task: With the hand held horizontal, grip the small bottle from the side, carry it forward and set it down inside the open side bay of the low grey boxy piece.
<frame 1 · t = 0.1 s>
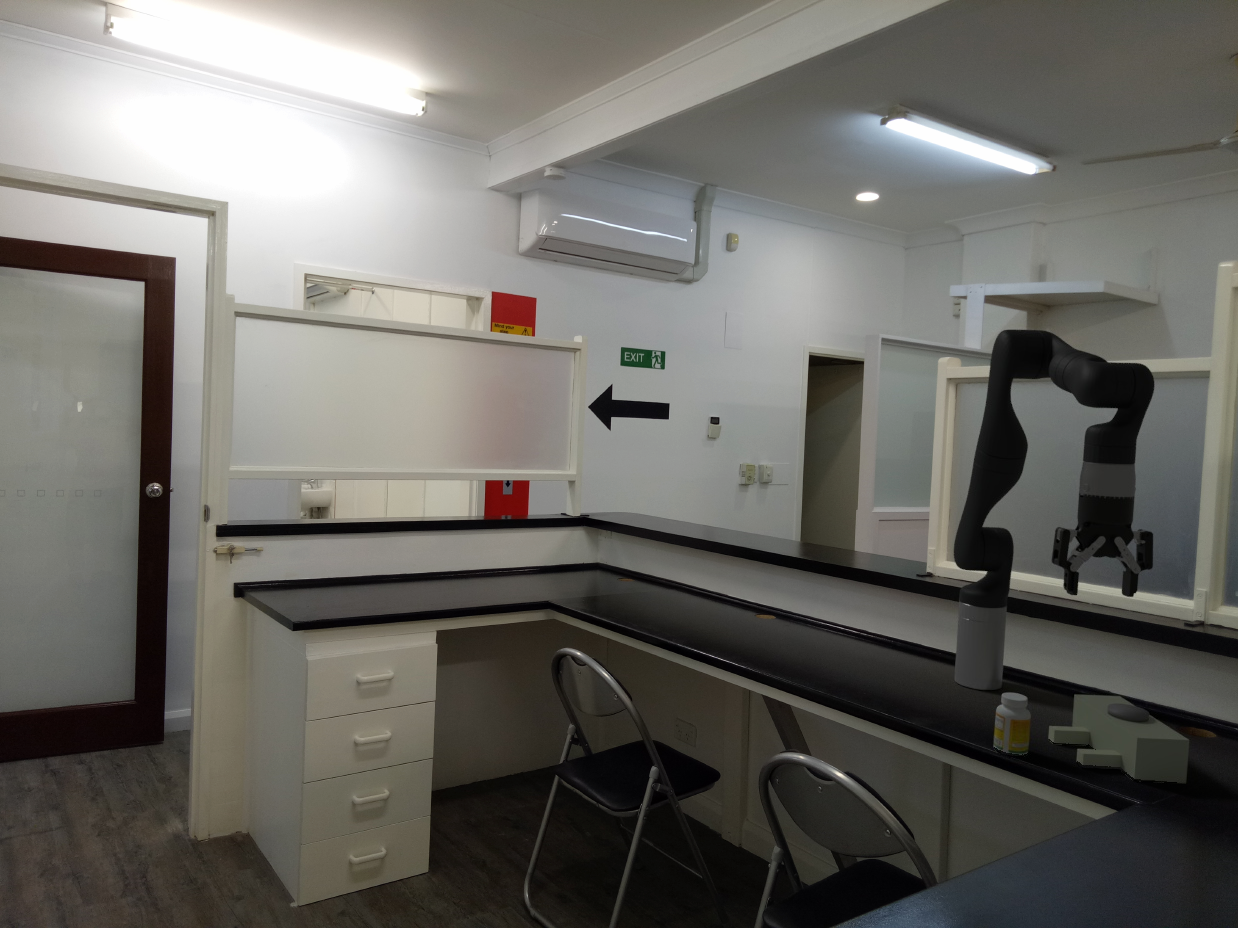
hand: (1099, 595, 134), 29 cm above the counter, tool pointing down, fingers open, 8 cm apart
grey boxy piece: (1106, 755, 145), on the counter
supplement bottle: (1010, 752, 146), on the counter
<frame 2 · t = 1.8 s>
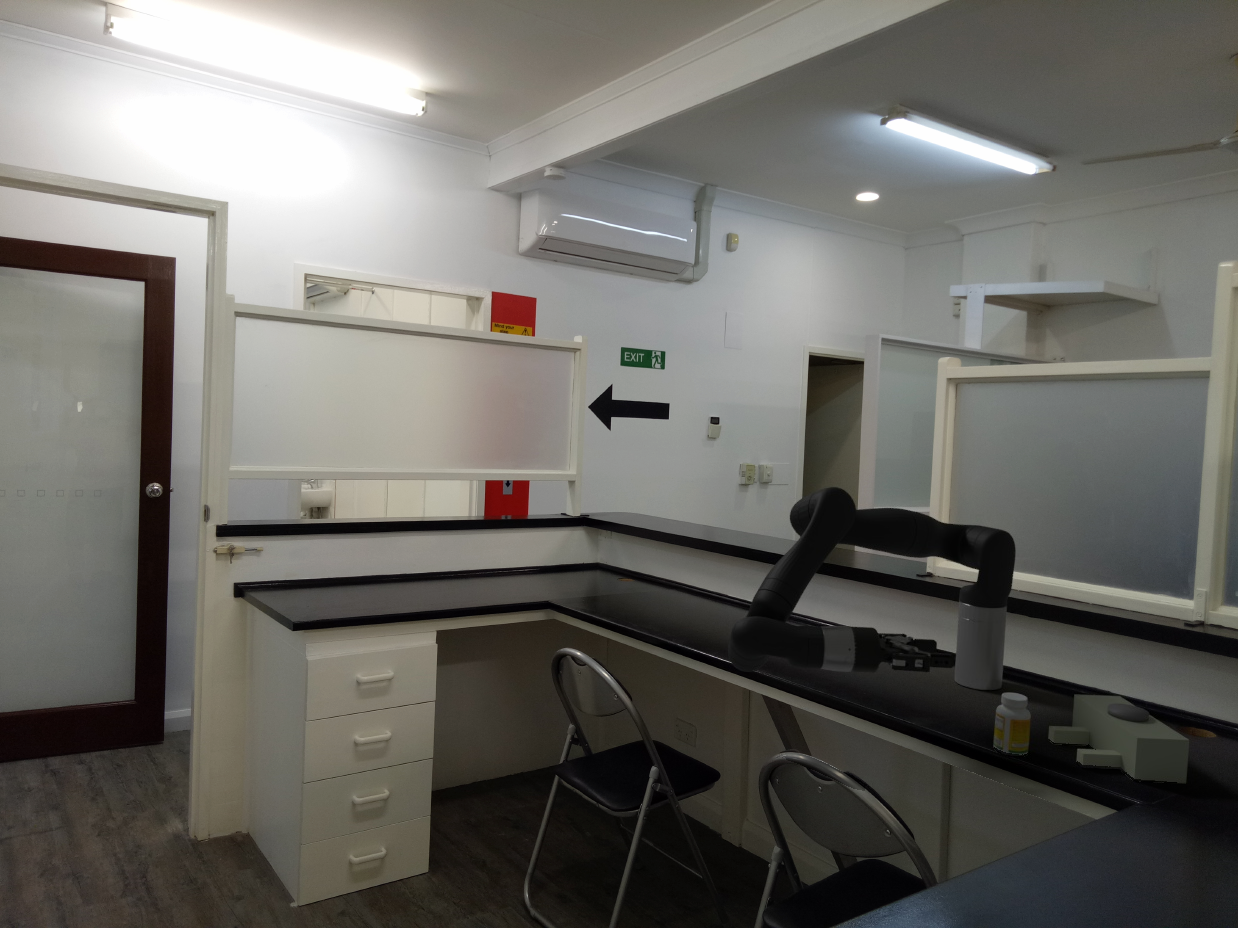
hand: (944, 653, 145), 16 cm above the counter, tool horizontal, fingers open, 8 cm apart
nothing on the counter moved.
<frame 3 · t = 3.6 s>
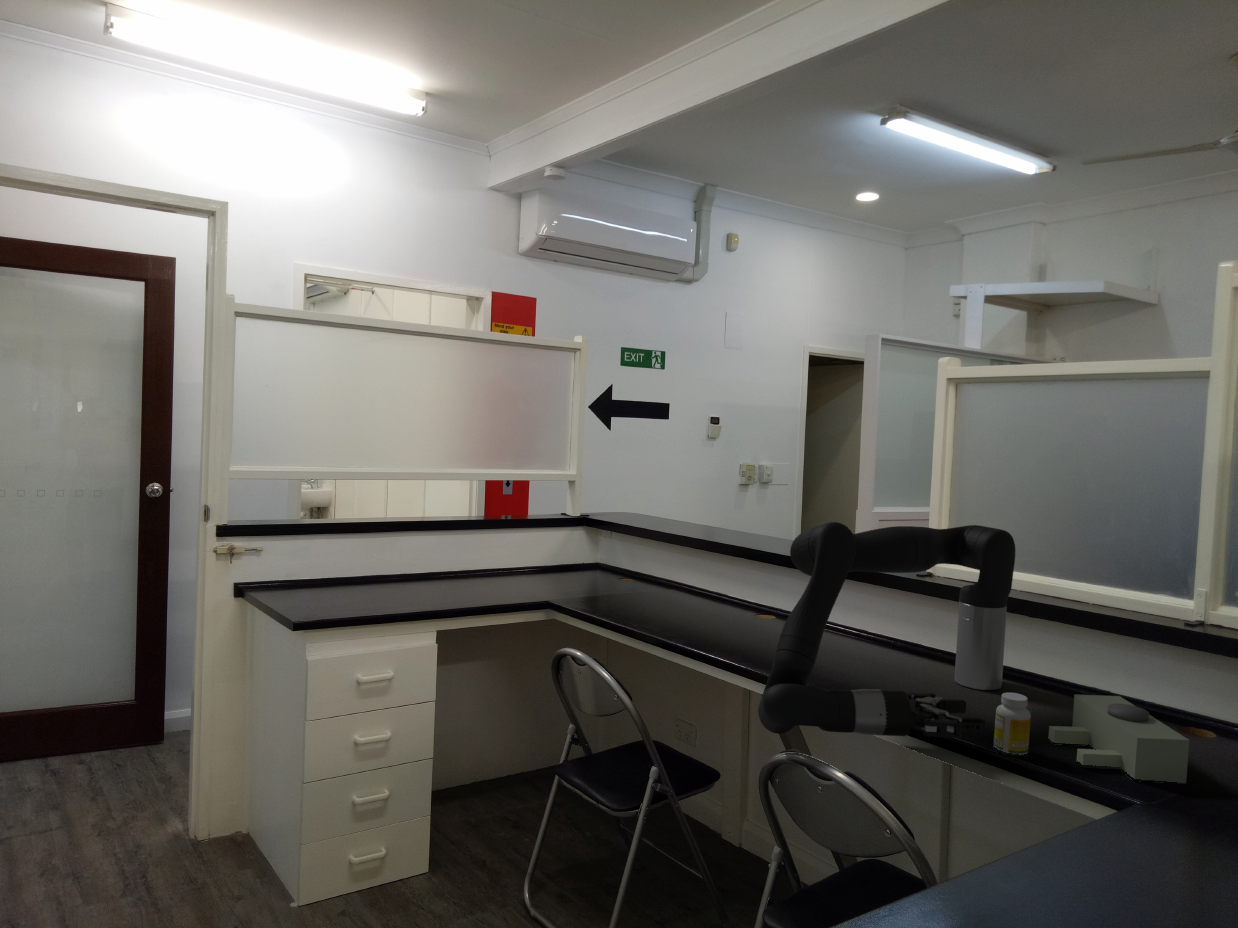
hand: (974, 715, 145), 6 cm above the counter, tool horizontal, fingers open, 8 cm apart
nothing on the counter moved.
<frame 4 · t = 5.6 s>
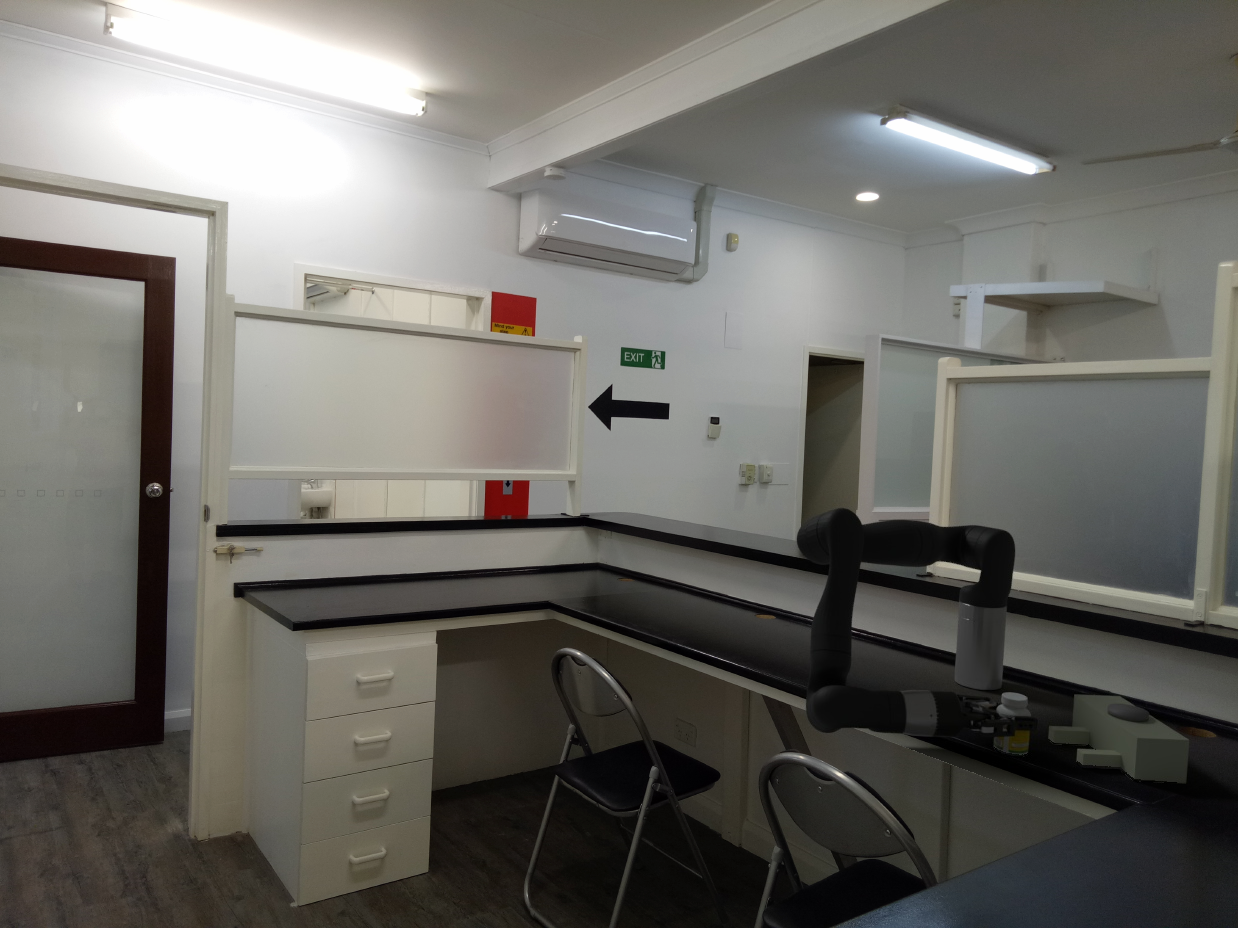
hand: (1028, 717, 145), 6 cm above the counter, tool horizontal, fingers closed on supplement bottle, 5 cm apart
supplement bottle: (1010, 752, 146), on the counter, touching gripper
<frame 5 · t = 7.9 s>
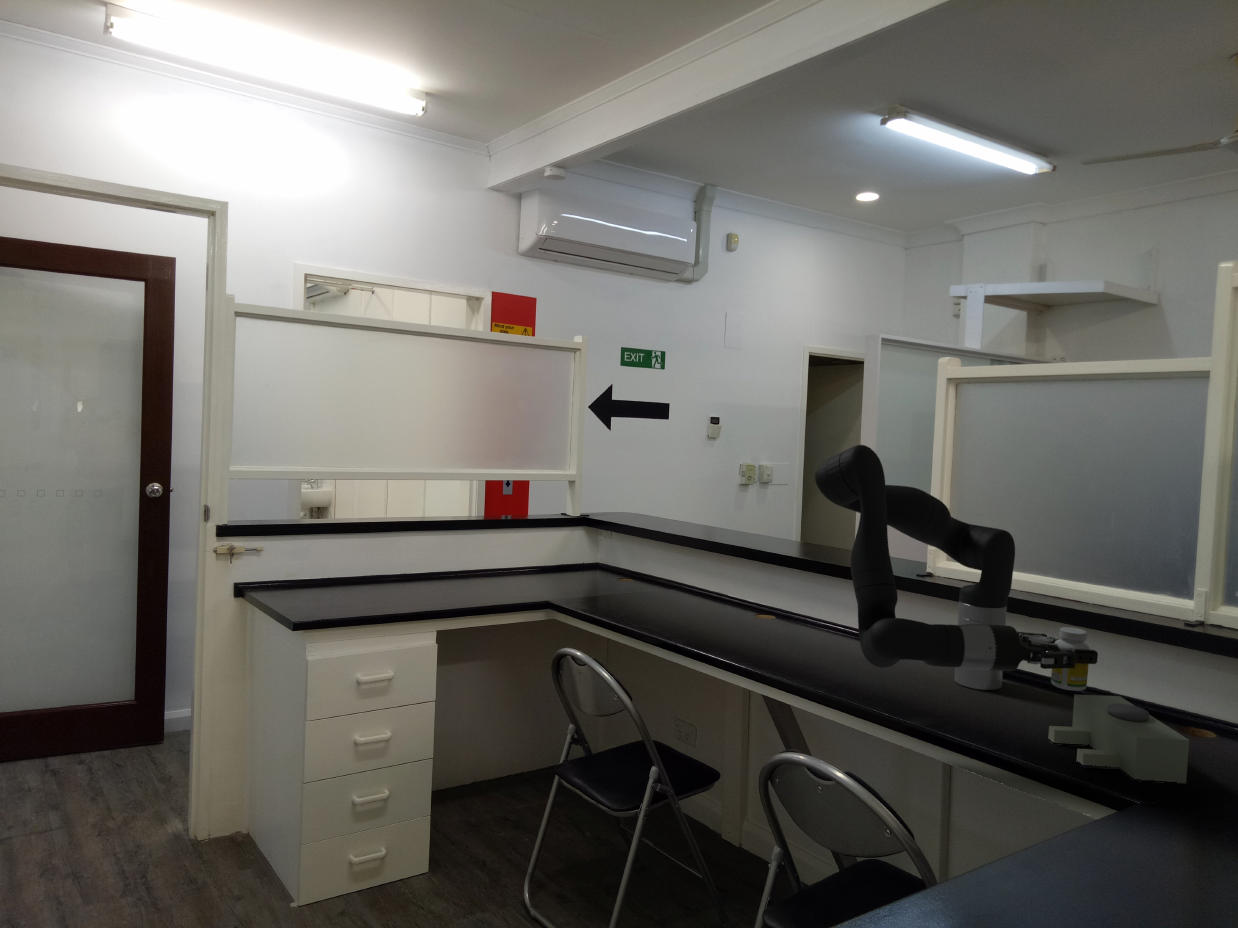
hand: (1086, 651, 144), 18 cm above the counter, tool horizontal, fingers closed on supplement bottle, 5 cm apart
supplement bottle: (1068, 687, 145), point 11 cm above the counter, touching gripper
when the fingers open (8 cm above the counter, at t = 10.5 s): supplement bottle drops 2 cm, on the counter.
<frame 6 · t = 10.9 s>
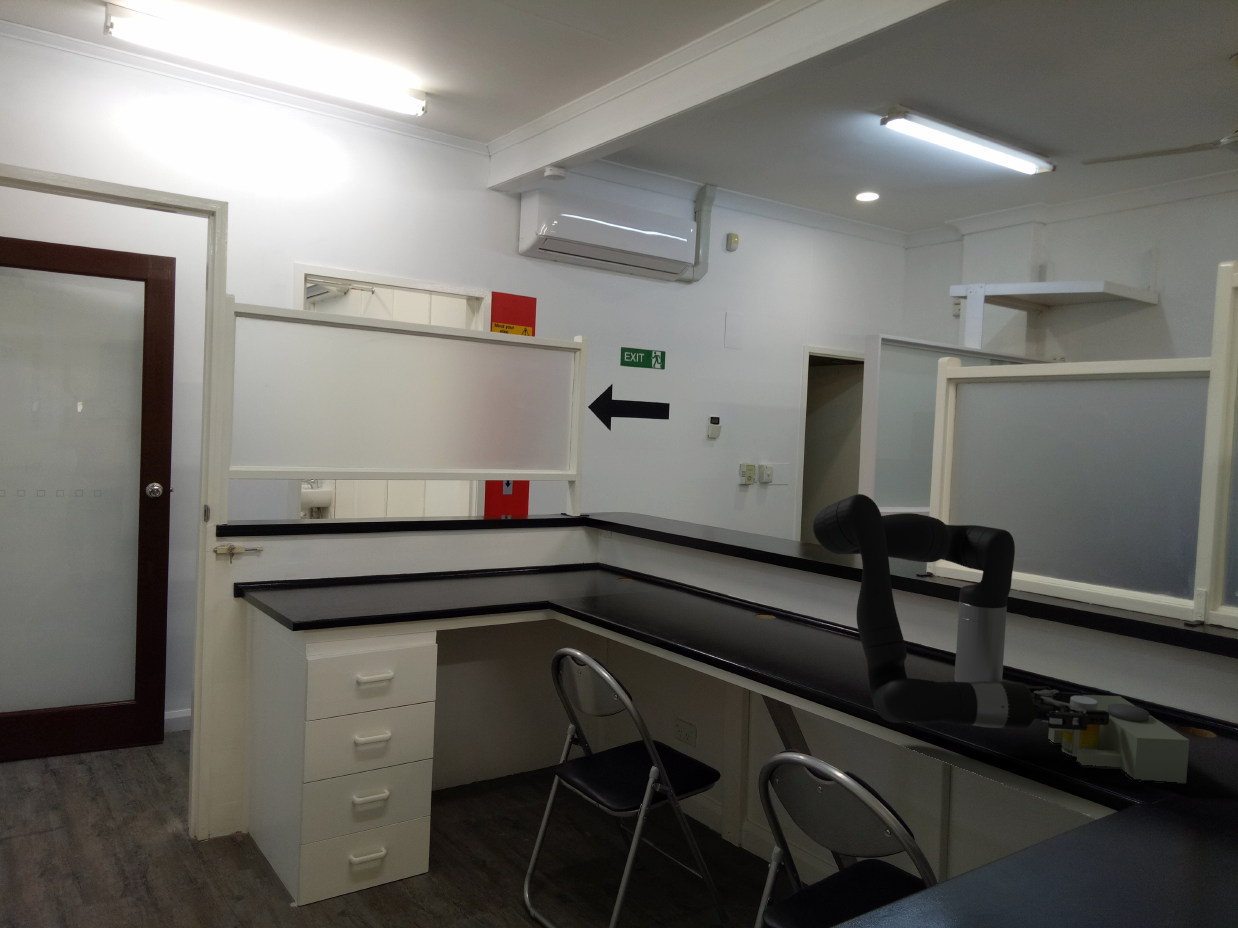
hand: (1094, 708, 145), 8 cm above the counter, tool horizontal, fingers open, 8 cm apart
supplement bottle: (1079, 755, 145), on the counter
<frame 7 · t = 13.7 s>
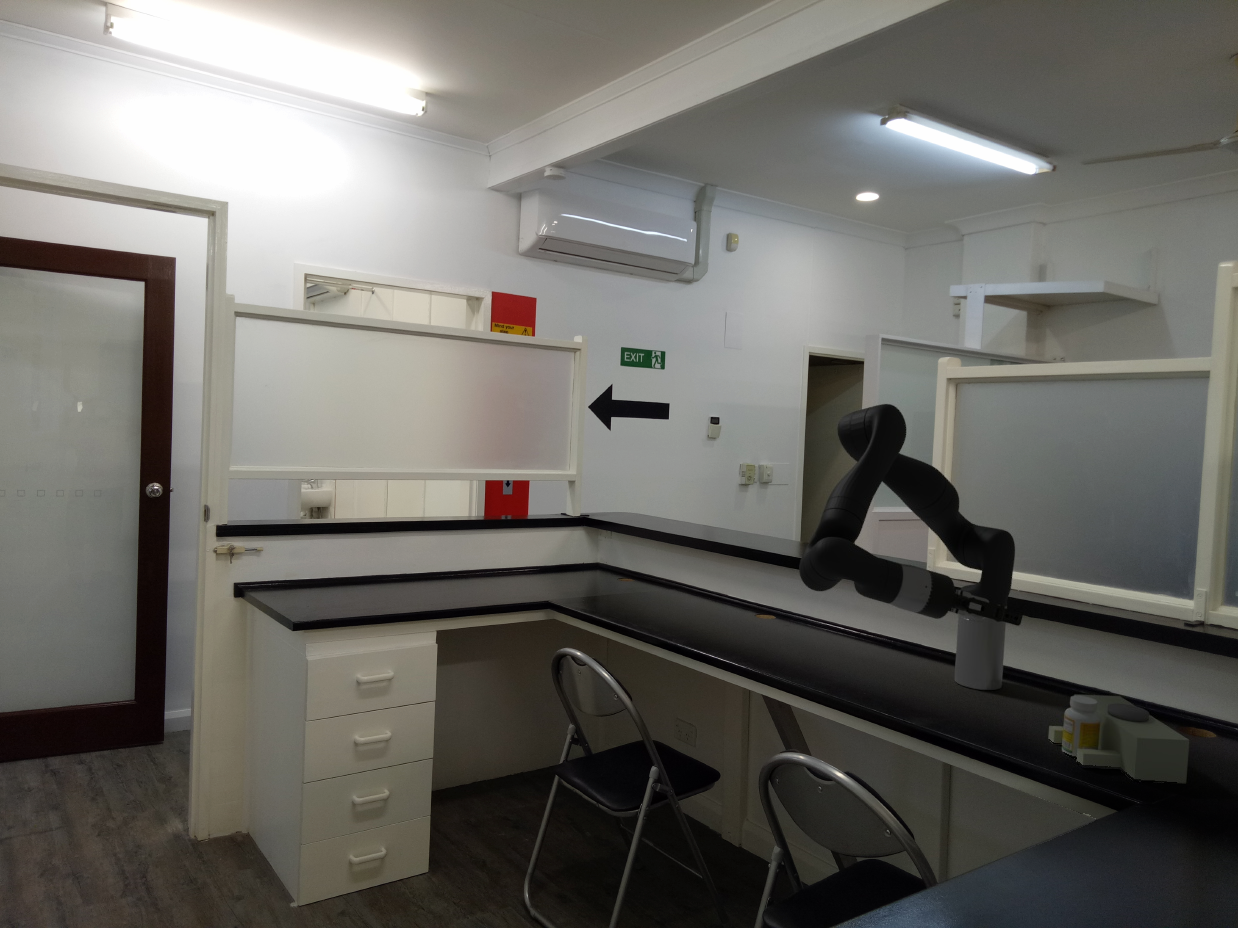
hand: (1006, 615, 146), 23 cm above the counter, tool horizontal, fingers open, 8 cm apart
nothing on the counter moved.
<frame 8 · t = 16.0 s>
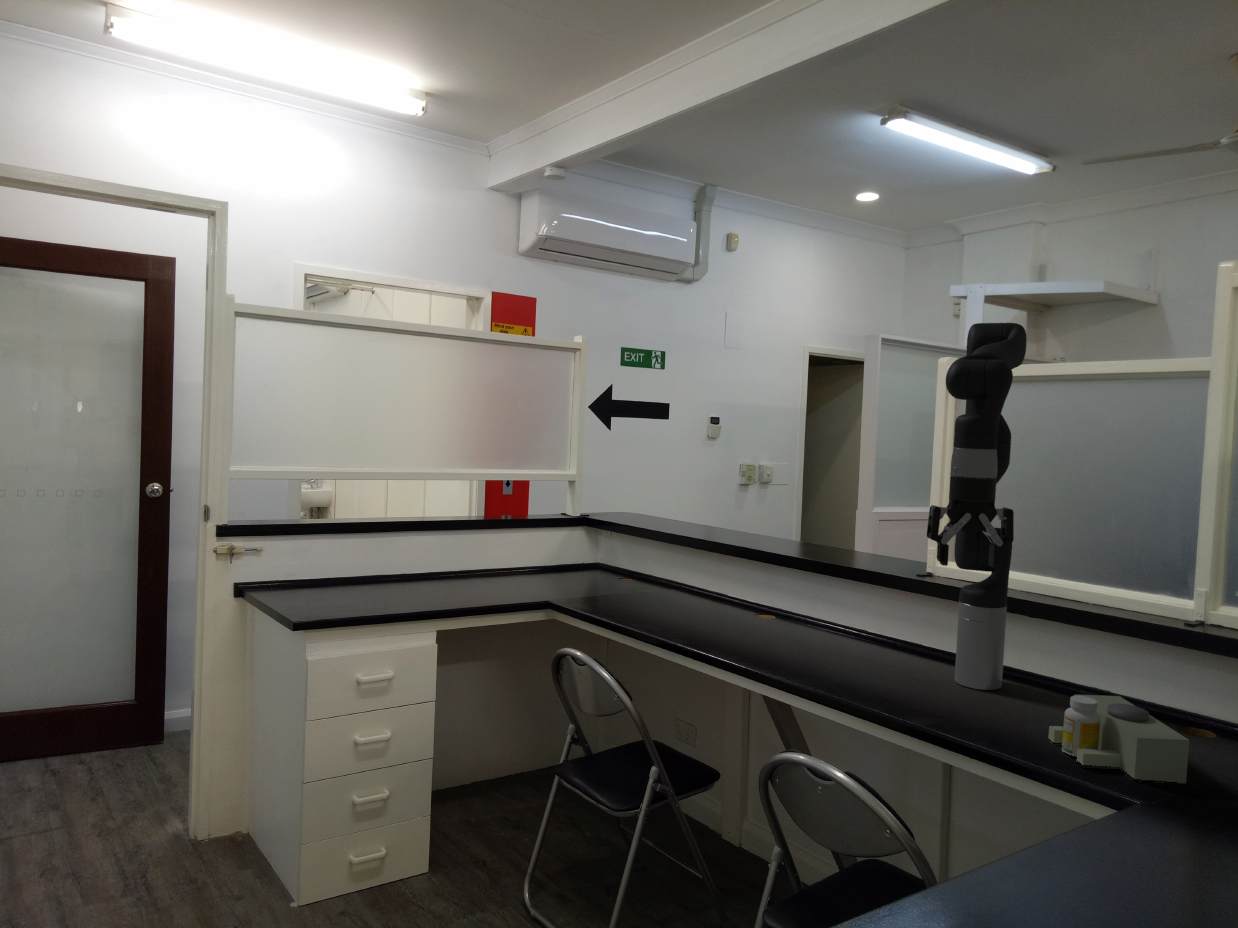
hand: (967, 565, 152), 30 cm above the counter, tool pointing down, fingers open, 8 cm apart
nothing on the counter moved.
at the end: supplement bottle inside the target area (0.4 cm from its centre), on the counter; supplement bottle tilted 0°; the gripper is holding nothing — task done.
